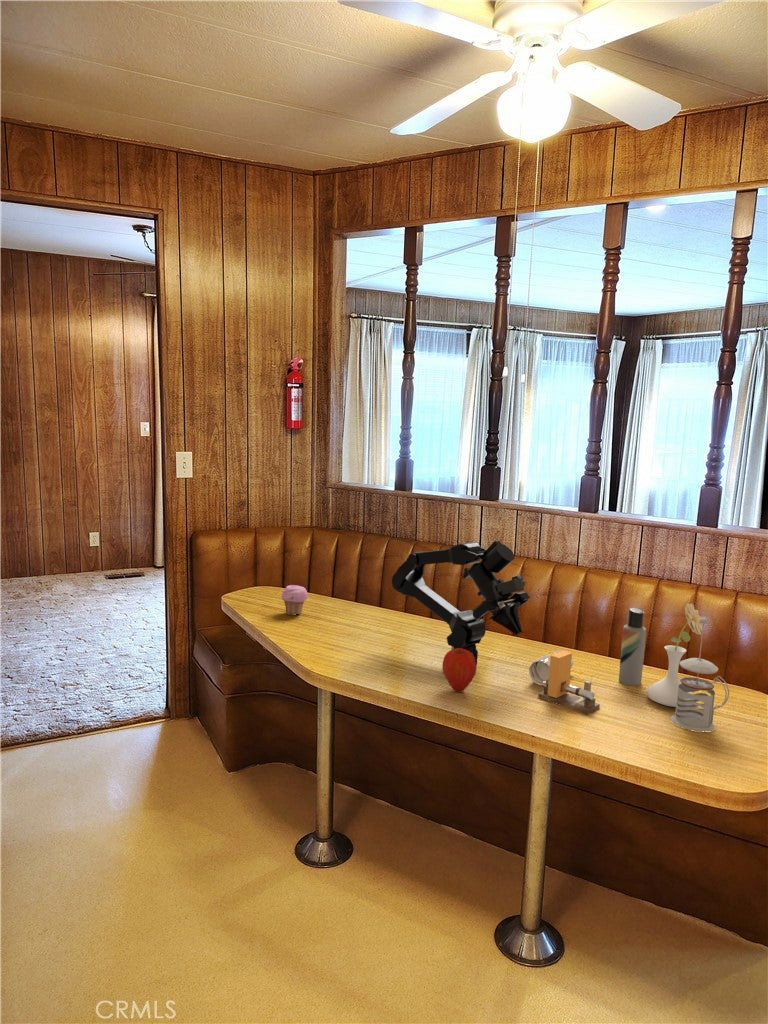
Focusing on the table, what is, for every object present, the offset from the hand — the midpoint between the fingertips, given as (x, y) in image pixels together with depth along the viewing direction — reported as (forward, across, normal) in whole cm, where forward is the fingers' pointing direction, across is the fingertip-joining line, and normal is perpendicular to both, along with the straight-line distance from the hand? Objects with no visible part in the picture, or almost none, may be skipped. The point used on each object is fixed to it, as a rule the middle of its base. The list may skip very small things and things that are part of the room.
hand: (519, 633), depth 176 cm
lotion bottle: (+23, +26, -4) cm, 35 cm away
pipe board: (+20, 0, -1) cm, 20 cm away
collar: (+17, 0, 0) cm, 17 cm away
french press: (+39, +12, -19) cm, 45 cm away
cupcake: (-51, -5, +70) cm, 87 cm away
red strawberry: (+5, -15, +15) cm, 22 cm away
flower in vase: (+32, +21, -13) cm, 41 cm away
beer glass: (+9, +19, +6) cm, 22 cm away
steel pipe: (+18, 0, -3) cm, 19 cm away
